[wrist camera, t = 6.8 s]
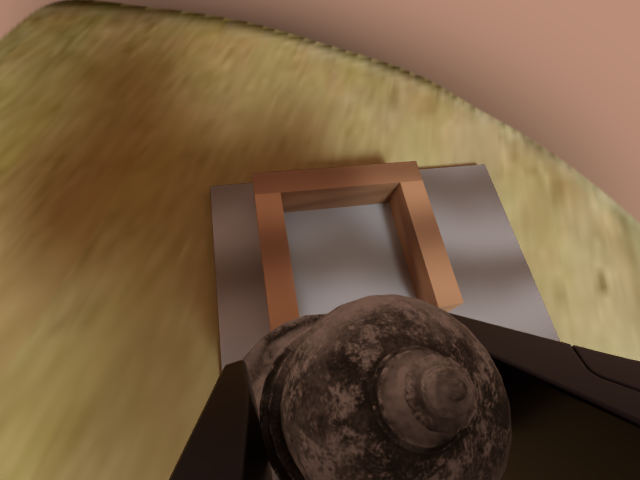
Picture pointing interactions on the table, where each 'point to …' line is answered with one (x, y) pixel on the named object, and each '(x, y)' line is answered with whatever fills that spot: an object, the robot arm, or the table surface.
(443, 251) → the wooden u-frame tray
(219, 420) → the robot arm
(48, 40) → the table surface
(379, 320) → the salt shaker
